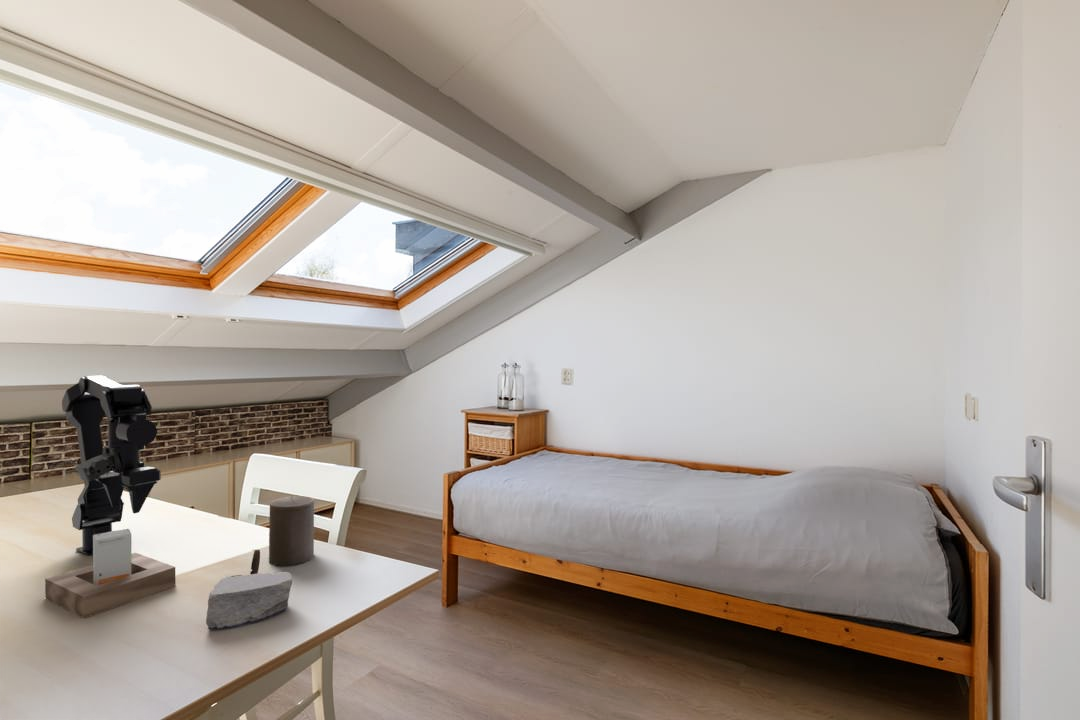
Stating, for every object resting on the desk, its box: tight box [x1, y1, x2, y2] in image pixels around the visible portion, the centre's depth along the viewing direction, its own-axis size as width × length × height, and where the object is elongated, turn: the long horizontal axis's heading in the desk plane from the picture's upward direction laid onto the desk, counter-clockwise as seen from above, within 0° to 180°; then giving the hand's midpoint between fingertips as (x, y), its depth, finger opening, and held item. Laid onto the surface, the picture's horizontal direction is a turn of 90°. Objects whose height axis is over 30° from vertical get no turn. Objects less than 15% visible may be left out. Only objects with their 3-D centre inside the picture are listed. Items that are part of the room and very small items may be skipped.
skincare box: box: [92, 528, 132, 586], centre depth 114 cm, size 6×4×12 cm
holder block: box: [44, 552, 176, 619], centre depth 114 cm, size 16×16×4 cm
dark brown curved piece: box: [229, 549, 261, 577], centre depth 117 cm, size 8×8×7 cm
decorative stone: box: [205, 571, 293, 631], centre depth 105 cm, size 15×7×10 cm
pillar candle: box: [268, 495, 315, 567], centre depth 133 cm, size 10×10×15 cm
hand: (125, 509), depth 127 cm, fingers open, 9 cm apart
